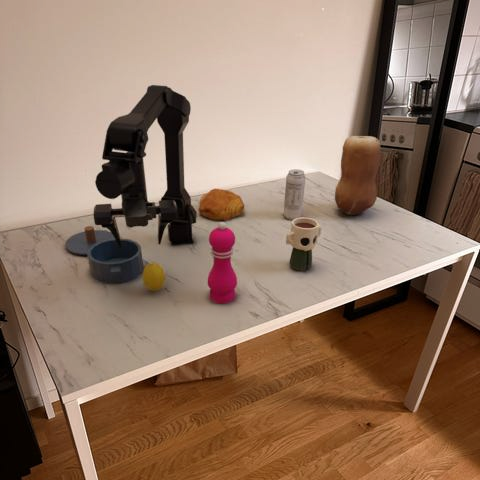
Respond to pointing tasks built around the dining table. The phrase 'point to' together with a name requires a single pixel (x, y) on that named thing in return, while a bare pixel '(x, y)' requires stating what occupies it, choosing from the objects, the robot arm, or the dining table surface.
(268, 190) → the dining table surface
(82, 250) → the pot lid
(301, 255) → the character mug
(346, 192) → the butternut squash
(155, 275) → the lemon
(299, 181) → the energy drink can
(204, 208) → the croissant
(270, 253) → the dining table surface
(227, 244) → the pepper mill
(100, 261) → the pot
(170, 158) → the robot arm
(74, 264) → the dining table surface
